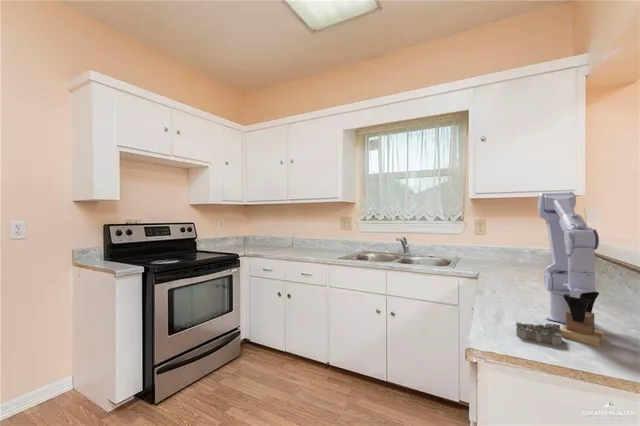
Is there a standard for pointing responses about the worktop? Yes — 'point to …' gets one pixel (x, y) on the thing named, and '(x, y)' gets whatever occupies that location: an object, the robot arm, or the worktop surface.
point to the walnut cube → (581, 324)
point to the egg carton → (540, 332)
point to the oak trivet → (584, 336)
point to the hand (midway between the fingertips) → (581, 318)
